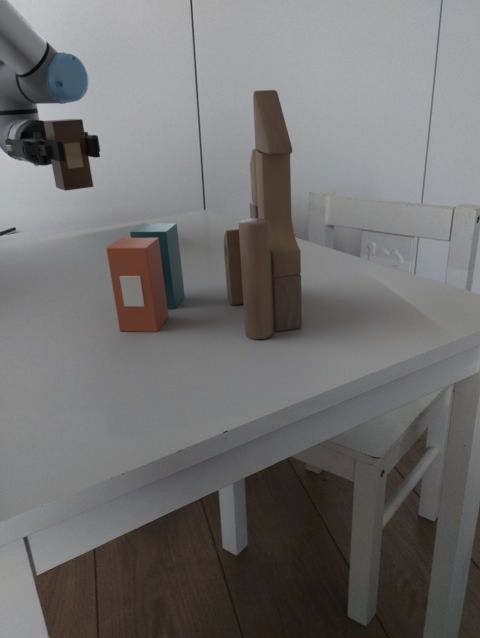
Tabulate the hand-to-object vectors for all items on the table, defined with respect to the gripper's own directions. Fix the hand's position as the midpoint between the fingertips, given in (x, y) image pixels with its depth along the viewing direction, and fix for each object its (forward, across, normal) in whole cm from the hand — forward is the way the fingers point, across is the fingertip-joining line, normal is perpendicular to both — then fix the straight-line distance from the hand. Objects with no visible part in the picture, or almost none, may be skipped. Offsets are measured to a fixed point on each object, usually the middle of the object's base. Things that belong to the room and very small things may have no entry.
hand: (78, 149), depth 85 cm
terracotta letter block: (+28, +5, -18) cm, 34 cm away
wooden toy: (+35, -8, -18) cm, 40 cm away
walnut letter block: (-5, 0, -6) cm, 8 cm away
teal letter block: (+23, 0, -18) cm, 29 cm away
